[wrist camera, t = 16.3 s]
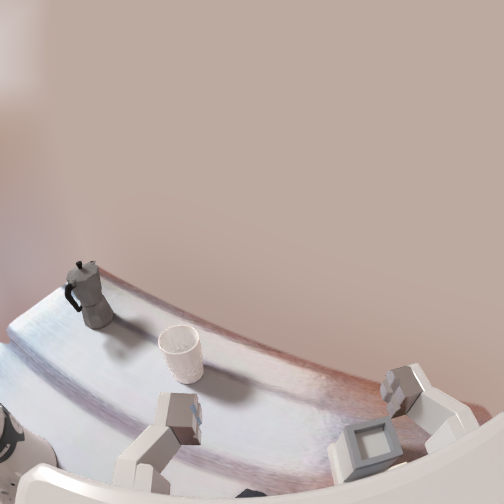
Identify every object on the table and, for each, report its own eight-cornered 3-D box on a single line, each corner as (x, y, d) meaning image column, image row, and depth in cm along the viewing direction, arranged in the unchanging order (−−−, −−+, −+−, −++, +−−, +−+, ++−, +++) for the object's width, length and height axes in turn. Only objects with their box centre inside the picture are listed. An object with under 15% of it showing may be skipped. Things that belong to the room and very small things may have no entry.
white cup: (209, 359, 56) (202, 325, 52) (203, 388, 49) (194, 355, 45) (174, 356, 57) (164, 323, 52) (165, 384, 50) (152, 351, 45)
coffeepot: (96, 303, 73) (78, 249, 65) (121, 305, 73) (104, 249, 65) (72, 337, 60) (46, 280, 51) (100, 342, 59) (74, 281, 51)
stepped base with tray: (394, 516, 22) (424, 503, 17) (343, 532, 22) (364, 526, 17) (372, 439, 36) (392, 411, 32) (327, 449, 36) (339, 424, 32)
